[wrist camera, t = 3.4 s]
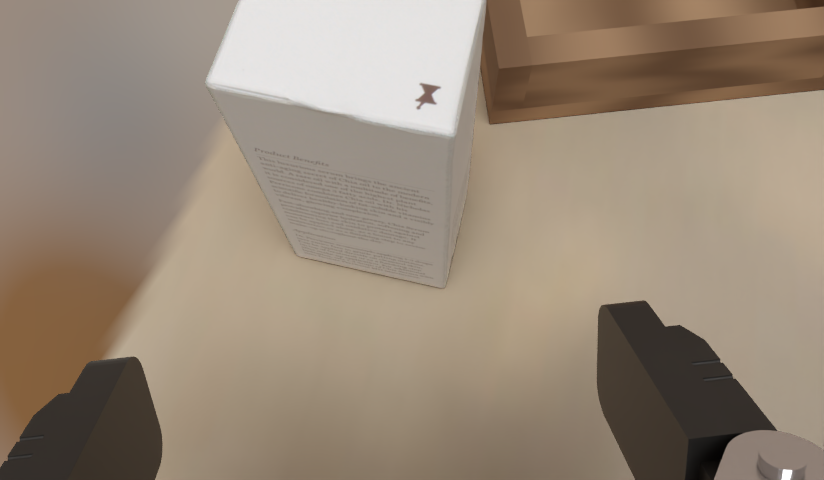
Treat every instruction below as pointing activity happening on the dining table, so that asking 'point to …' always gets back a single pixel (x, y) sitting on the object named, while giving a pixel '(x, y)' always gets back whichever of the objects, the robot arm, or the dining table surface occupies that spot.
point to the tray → (644, 53)
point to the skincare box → (357, 124)
